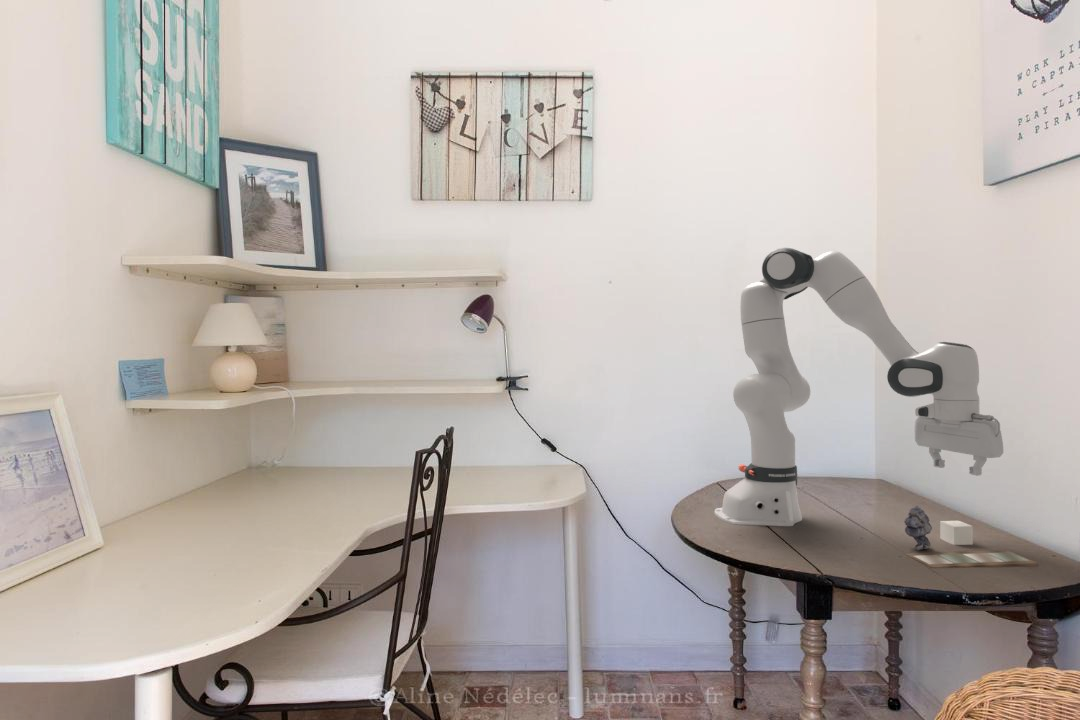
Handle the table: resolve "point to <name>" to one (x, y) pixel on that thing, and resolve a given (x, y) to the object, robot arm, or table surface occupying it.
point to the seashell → (918, 527)
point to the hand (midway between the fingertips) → (956, 471)
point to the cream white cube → (956, 532)
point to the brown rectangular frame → (972, 559)
